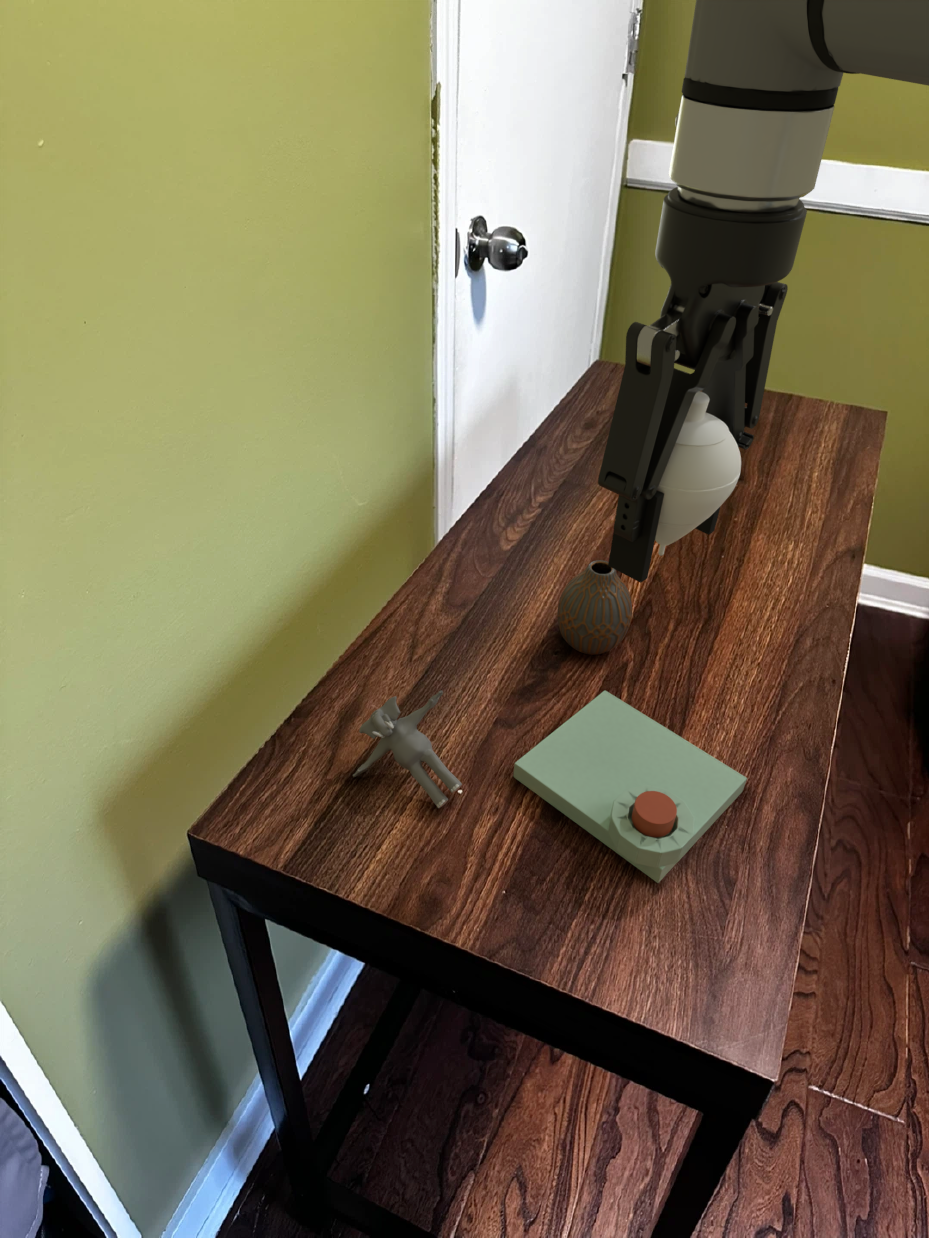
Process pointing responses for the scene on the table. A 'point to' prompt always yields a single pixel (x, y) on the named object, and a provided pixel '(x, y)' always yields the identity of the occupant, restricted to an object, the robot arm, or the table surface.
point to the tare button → (654, 814)
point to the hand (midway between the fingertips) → (662, 547)
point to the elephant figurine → (408, 746)
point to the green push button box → (628, 780)
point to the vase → (595, 610)
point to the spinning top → (697, 473)
